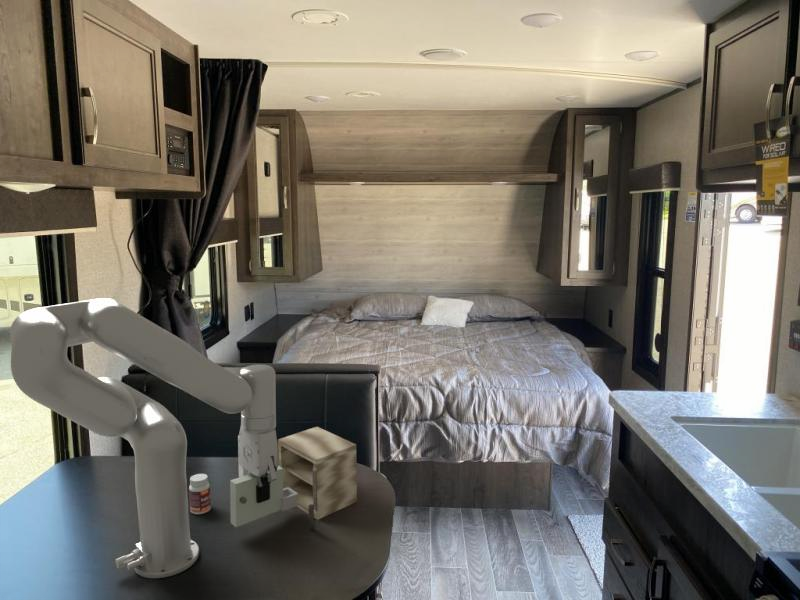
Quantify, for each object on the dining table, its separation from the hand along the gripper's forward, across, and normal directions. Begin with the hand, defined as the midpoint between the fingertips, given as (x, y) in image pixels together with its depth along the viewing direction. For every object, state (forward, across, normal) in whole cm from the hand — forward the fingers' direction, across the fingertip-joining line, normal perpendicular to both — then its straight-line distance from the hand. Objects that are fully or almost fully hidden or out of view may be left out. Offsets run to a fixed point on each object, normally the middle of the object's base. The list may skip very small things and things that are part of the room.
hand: (259, 497), depth 130 cm
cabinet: (+7, 0, +15) cm, 17 cm away
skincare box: (+7, -22, +10) cm, 25 cm away
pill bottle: (+8, -17, -6) cm, 20 cm away
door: (+4, 0, +1) cm, 4 cm away
